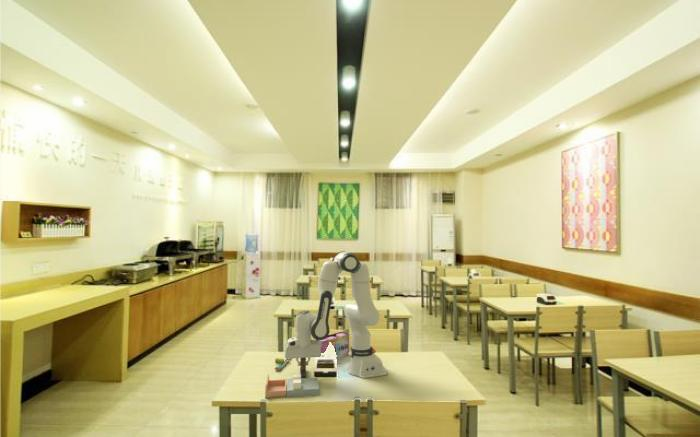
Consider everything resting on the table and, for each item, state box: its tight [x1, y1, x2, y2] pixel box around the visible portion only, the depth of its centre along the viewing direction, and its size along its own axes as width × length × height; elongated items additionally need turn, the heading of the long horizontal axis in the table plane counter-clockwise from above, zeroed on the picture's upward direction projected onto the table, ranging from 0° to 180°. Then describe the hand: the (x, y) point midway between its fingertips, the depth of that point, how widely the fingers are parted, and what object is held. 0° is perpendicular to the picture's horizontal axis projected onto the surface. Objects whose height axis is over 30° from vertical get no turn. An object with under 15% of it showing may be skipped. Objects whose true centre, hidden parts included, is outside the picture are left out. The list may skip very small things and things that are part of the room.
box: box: [264, 374, 287, 399], centre depth 174 cm, size 10×13×6 cm
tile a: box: [292, 373, 301, 380], centre depth 179 cm, size 4×4×3 cm
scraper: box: [299, 358, 307, 378], centre depth 193 cm, size 3×18×8 cm, turn 8°
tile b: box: [293, 379, 301, 389], centre depth 172 cm, size 4×4×3 cm
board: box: [286, 377, 320, 398], centre depth 176 cm, size 16×13×3 cm
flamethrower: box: [274, 357, 292, 371], centre depth 212 cm, size 29×3×10 cm
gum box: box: [319, 331, 350, 360], centre depth 222 cm, size 24×8×14 cm, turn 134°
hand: (303, 365), depth 193 cm, fingers closed on scraper, 3 cm apart
